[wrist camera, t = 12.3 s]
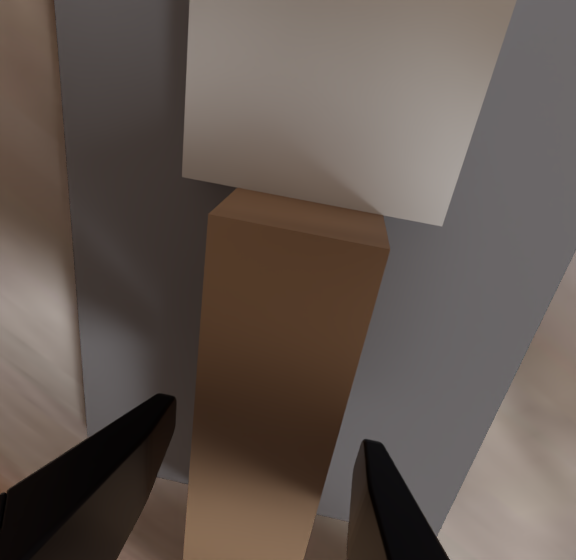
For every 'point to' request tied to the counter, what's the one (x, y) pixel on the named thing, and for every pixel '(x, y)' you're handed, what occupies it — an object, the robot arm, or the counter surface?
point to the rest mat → (401, 233)
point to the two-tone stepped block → (308, 228)
